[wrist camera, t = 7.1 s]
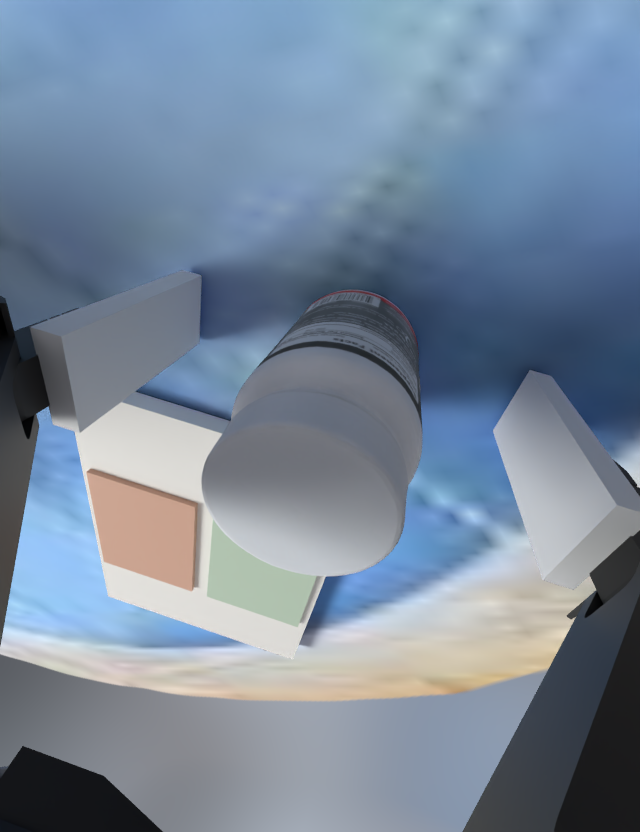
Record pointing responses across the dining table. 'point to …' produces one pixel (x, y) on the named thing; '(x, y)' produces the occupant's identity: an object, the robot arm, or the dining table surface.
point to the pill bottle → (323, 441)
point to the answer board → (181, 529)
